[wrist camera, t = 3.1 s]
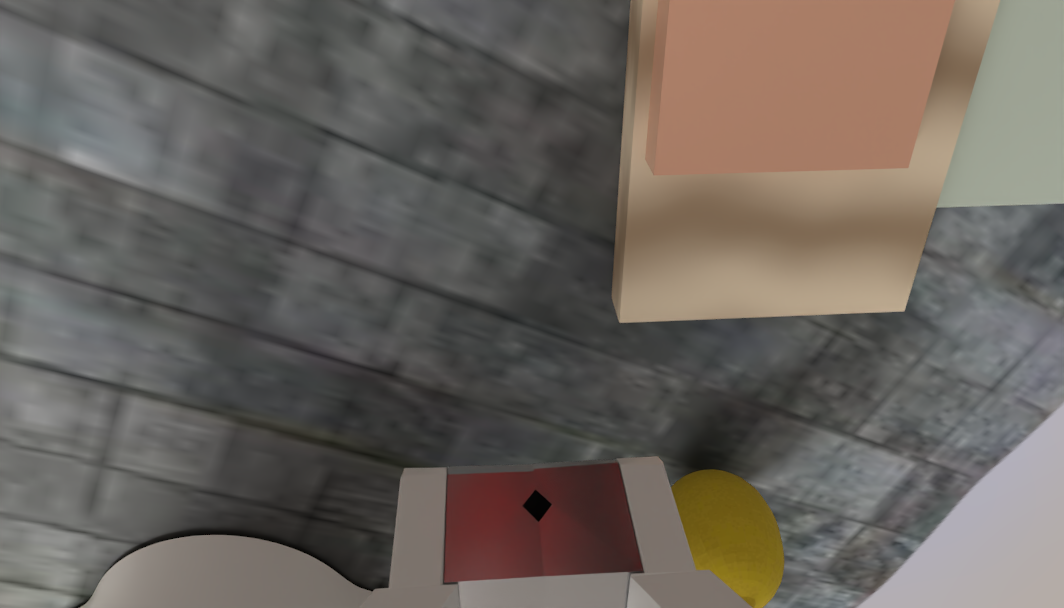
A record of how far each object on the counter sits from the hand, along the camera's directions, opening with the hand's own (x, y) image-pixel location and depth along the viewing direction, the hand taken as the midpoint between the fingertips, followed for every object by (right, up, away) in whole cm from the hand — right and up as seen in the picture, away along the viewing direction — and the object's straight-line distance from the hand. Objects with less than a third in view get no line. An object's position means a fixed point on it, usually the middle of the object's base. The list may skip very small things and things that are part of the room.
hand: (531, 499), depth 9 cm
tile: (+9, +10, +17) cm, 21 cm away
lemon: (+8, -6, +30) cm, 32 cm away
